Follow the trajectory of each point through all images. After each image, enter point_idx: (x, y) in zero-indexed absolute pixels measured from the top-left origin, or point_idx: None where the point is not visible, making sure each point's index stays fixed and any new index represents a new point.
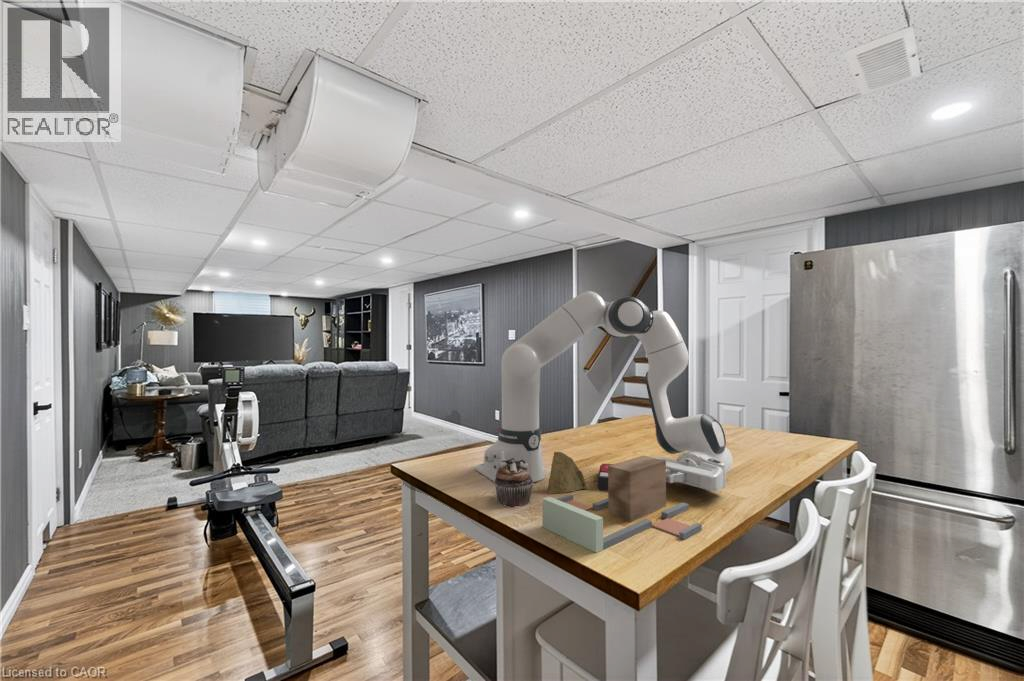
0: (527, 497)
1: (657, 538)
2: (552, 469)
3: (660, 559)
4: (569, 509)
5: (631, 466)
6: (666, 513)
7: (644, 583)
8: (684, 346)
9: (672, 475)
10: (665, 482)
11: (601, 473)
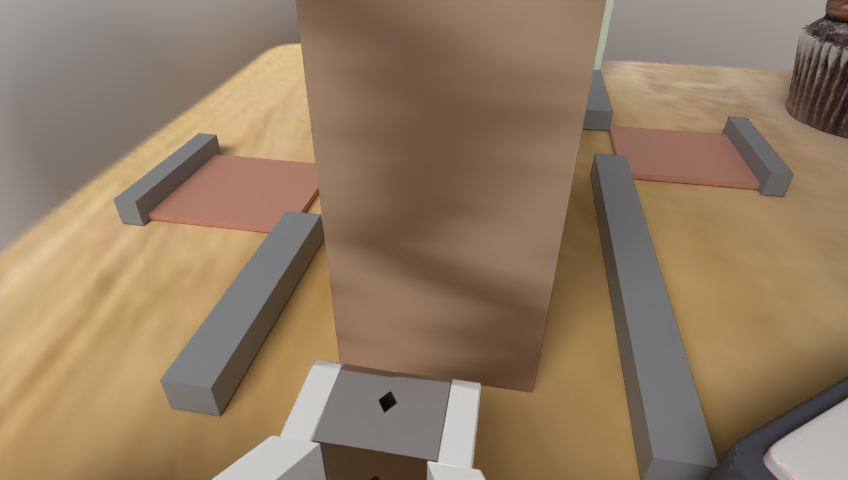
0: (804, 92)
1: (292, 134)
2: None
3: (262, 89)
4: None
5: None
6: (291, 211)
7: (276, 51)
8: None
9: (302, 391)
10: (324, 203)
11: None
